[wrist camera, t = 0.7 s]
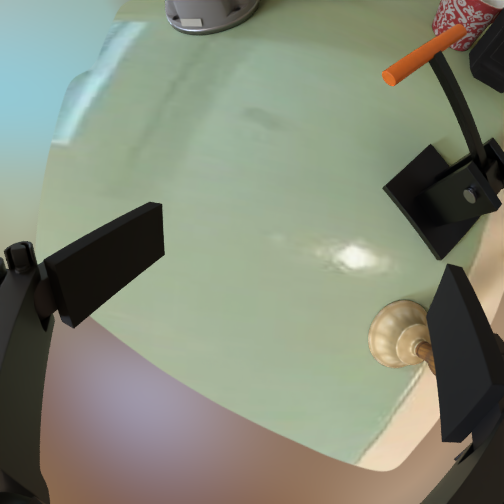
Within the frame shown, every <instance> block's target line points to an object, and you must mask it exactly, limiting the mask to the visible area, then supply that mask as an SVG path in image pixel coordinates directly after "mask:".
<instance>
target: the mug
mask: <svg viewBox="0 0 504 504" xmlns="http://www.w3.org/2000/svg"><path fill="white" fill-rule="evenodd" d="M503 8H504V0H441V2H440V5H439V8H438V10H437V13H436V16H435V18H434V21H433V24H432V28H433V31H434V33H435V35H436V36H438V35H440V34H441V33H443V32H445V31H446V30H448V29H450V28H451V27H453V26H455V25H456V24H461V25H463V26H464V27H465V28H466V30H467V35H466V36H465V37H463V38H462V39H460V40H459V41H457V42H456V43H454V44H453V45H451V46H450V48H452V49H454V50H458V51H466V50H468V49H469V48H470V47H471V45H472V44H473V43H474V42H475V41H476V39H477V38H478V37H479V36H480V35H481V33H482V32H483V31H484V30H485V29H486V28H487V26H488V25H490V24H491V23H493V22H494V20H495V19H496V18H497V16H498V15H499V14H500V12H501V11H502V9H503Z"/></svg>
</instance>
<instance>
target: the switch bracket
mask: <svg viewBox="0 0 504 504" xmlns="http://www.w3.org/2000/svg"><path fill="white" fill-rule="evenodd" d="M483 147H484V150H485V153H486V156H487V158H489V159H494V160H497V162H498V166H499V170H500V173H501V177H502V181H503V188H502V189H504V152H503V150H502V149H501V147H500V146H499V145H498V143H497V142H496V141H495V139H494V138H491V139H490V140H488V141H487V142H485V143H484V144H483ZM383 190H384V191H385V192H386V193H387V194H388V196H389V197H390V198H391V199H392V201H393V202H394V203H395V204H396V205H397V207H398V208H399V209H400V210H401V212H402V213H403V214H404V216H405V217H406V218H407V219H408V221H409V222H410V223H411V225H412V226H413V227H414V229H415V230H416V231H417V233H418V234H419V235H420V237H421V238H422V239H423V241H424V242H425V243H426V245H427V246H428V248H429V249H430V250H431V252H432V253H433V255H434V256H435V258H436V259H437V260H442V259H443V258H444V257H445V256H446V255H447V254H448V253H449V252H450V251H451V250H452V248H453V247H454V246H455V245H456V244H457V243H458V242H459V241H460V240H461V238H462V237H463V236H464V235H465V234H466V233H467V232H468V230H469V229H470V228H471V227H472V226H473V225H474V223H475V222H476V221H477V220H478V219H479V217H480V216H481V215H484V214H487V213H491V212H495V211H497V210H498V209H499V207H500V206H501V205H502V203H501V201H500V200H499V198H498V197H497V195H496V193H495V192H494V190H493V189H492V187H491V186H490V184H489V183H488V181H487V180H486V179H485V177H484V176H483V174H482V173H481V171H480V170H479V169H478V167H477V166H476V165H475V163H474V162H473V159H472V156H471V154H470V153H469V154H467V155H466V156H464V157H463V158H461V159H460V160H458V161H457V162H455V163H454V164H452V165H451V166H449V165H448V164H447V163H446V162H445V160H444V159H443V158H442V157H441V155H440V154H439V153H438V152H437V151H436V149H435V148H434V147H433V146H432V145H431V144H430V145H429V146H428V147H427V148H425V149H424V150H423V151H422V152H421V153H420V154H419V155H418V156H417V157H416V158H415V159H414V160H413V161H411V162H410V163H409V164H408V165H407V166H406V167H405V168H404V169H403V170H402V171H401V172H399V173H398V174H397V175H396V176H395V177H394V178H393V179H392V180H391V181H390V182H388V183H387V184H386V185H385V186H384V187H383Z"/></svg>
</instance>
